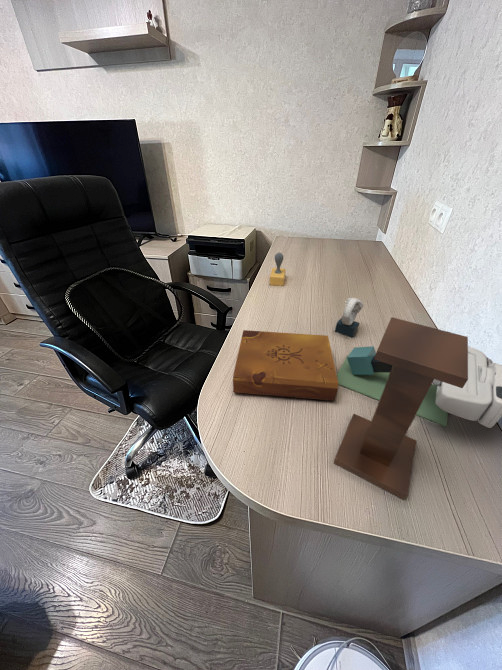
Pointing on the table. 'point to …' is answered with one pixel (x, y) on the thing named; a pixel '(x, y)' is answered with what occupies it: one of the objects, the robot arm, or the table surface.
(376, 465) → the stand
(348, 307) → the watch
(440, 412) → the mat
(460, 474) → the table surface
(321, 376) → the diary
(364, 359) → the teal headed hammer
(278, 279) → the rubber stamp
